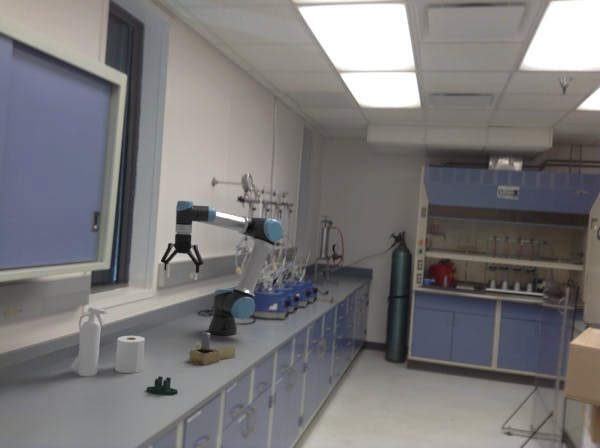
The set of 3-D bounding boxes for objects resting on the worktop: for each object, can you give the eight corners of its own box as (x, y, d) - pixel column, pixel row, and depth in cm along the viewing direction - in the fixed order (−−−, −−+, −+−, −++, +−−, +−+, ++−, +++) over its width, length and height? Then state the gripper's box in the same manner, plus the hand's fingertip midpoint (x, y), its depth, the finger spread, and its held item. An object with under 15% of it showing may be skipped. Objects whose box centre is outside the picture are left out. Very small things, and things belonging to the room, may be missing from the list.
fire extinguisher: (77, 367, 202) (83, 303, 200) (105, 373, 199) (111, 308, 198) (65, 372, 195) (71, 306, 194) (94, 379, 192) (100, 311, 191)
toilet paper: (134, 374, 199) (136, 343, 199) (109, 371, 202) (112, 339, 201) (147, 367, 209) (149, 337, 209) (123, 364, 211) (126, 334, 211)
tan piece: (208, 348, 245) (209, 339, 245) (236, 357, 234) (237, 347, 234) (175, 355, 229) (175, 345, 229) (203, 365, 219) (204, 354, 218)
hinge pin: (204, 359, 227) (206, 331, 227) (210, 361, 225) (212, 333, 225) (198, 360, 225) (200, 332, 224) (203, 362, 222) (205, 334, 222)
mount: (179, 392, 186) (180, 378, 185) (175, 396, 181) (176, 382, 181) (149, 388, 186) (150, 374, 186) (144, 392, 182) (145, 378, 182)
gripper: (154, 232, 246) (152, 277, 246) (206, 235, 242) (204, 281, 242) (161, 231, 253) (159, 275, 254) (211, 234, 249) (209, 279, 250)
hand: (181, 278), depth 248 cm, fingers open, 13 cm apart
